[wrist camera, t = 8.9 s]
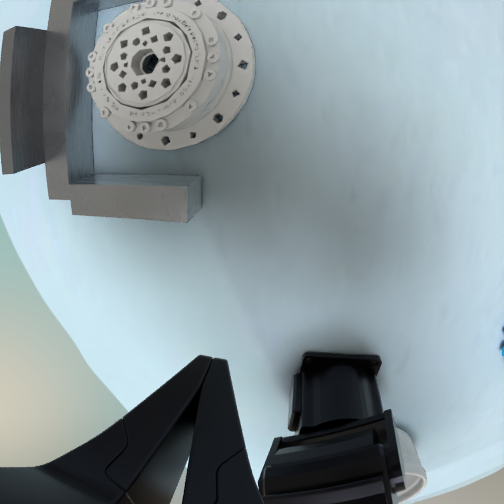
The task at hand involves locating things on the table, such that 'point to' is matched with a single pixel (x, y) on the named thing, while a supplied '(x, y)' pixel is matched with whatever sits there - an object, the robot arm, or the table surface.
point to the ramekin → (410, 469)
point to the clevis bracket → (74, 122)
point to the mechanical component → (171, 72)
